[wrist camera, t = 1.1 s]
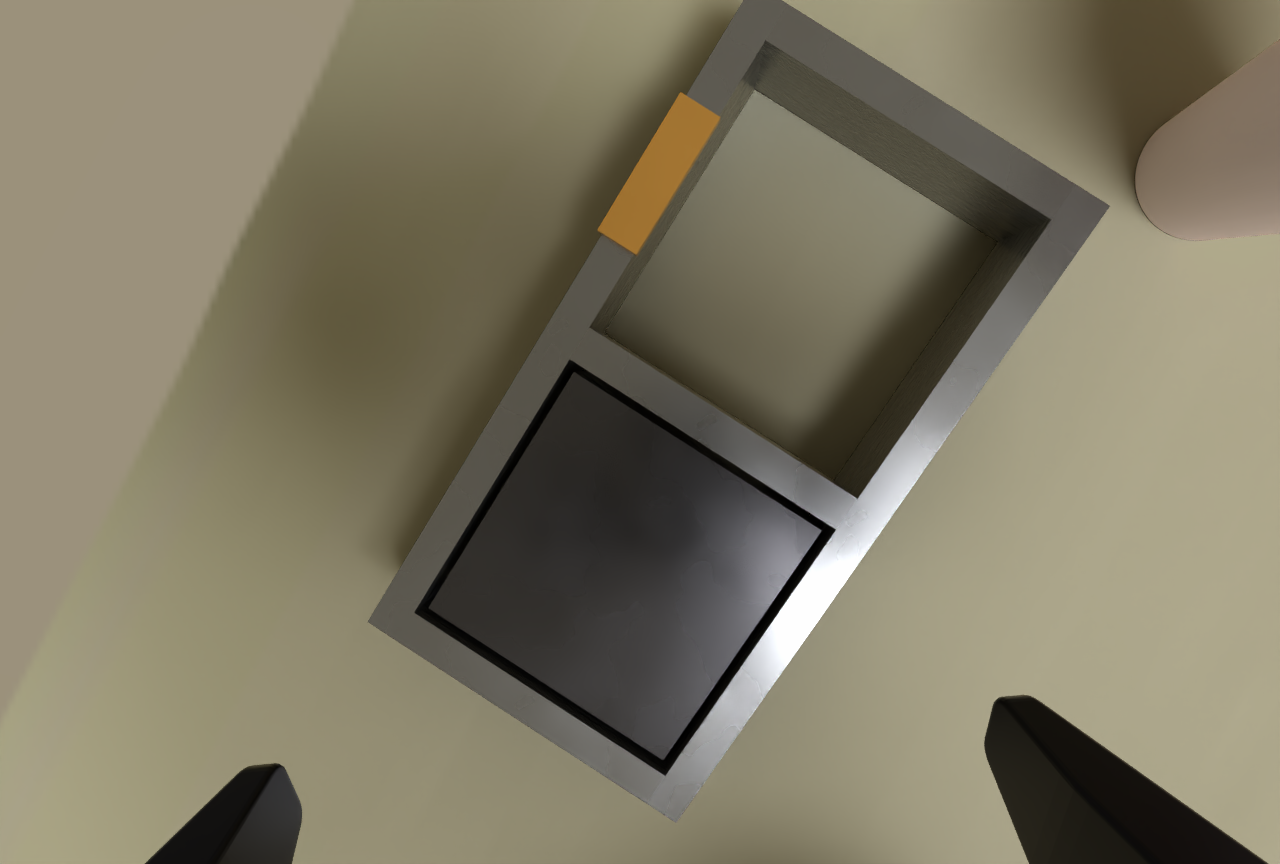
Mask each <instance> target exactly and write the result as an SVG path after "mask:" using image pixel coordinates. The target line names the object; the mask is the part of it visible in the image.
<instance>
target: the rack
mask: <svg viewBox="0 0 1280 864" xmlns="http://www.w3.org/2000/svg"><path fill="white" fill-rule="evenodd" d="M754 89H756V90H757V91H759V92H760V93H762V94H764V95H765V96H767V97H768V98H770V99H772V100H773V101H775V102H776V103H778V104H780V105H781V106H783V107H784V108H786V109H787V110H789V111H791V112H792V113H794V114H795V115H797V116H799V117H800V118H802V119H803V120H805V121H807V122H808V123H810V124H811V125H813V126H814V127H816V128H818V129H819V130H821V131H822V132H824V133H826V134H827V135H829V136H830V137H832V138H834V139H835V140H837V141H838V142H840V143H842V144H843V145H845V146H846V147H848V148H849V149H851V150H853V151H854V152H856V153H857V154H859V155H861V156H862V157H864V158H865V159H867V160H869V161H870V162H872V163H873V164H875V165H876V166H878V167H880V168H881V169H883V170H884V171H886V172H888V173H889V174H891V175H892V176H894V177H896V178H897V179H899V180H900V181H902V182H903V183H905V184H907V185H908V186H910V187H911V188H913V189H915V190H916V191H918V192H919V193H921V194H923V195H924V196H926V197H927V198H929V199H931V200H932V201H934V202H935V203H937V204H938V205H940V206H942V207H943V208H945V209H946V210H948V211H950V212H951V213H953V214H954V215H956V216H958V217H959V218H961V219H962V220H964V221H965V222H967V223H969V224H970V225H972V226H973V227H975V228H977V229H978V230H980V231H981V232H983V233H985V234H986V235H988V236H989V237H991V238H993V239H994V240H996V241H997V242H998V243H997V244H996V246H995V247H994V249H993V250H992V251H991V253H990V254H989V256H988V257H987V259H986V260H985V262H984V263H983V265H982V266H981V267H980V269H979V270H978V272H977V273H976V275H975V276H974V278H973V279H972V281H971V282H970V284H969V285H968V286H967V288H966V289H965V291H964V292H963V294H962V295H961V297H960V298H959V300H958V301H957V302H956V304H955V305H954V307H953V308H952V310H951V311H950V313H949V314H948V316H947V317H946V319H945V320H944V321H943V323H942V324H941V326H940V327H939V329H938V330H937V332H936V333H935V335H934V336H933V337H932V339H931V340H930V342H929V343H928V345H927V346H926V348H925V349H924V351H923V352H922V353H921V355H920V356H919V358H918V359H917V361H916V362H915V364H914V365H913V367H912V368H911V370H910V371H909V372H908V374H907V375H906V377H905V378H904V380H903V381H902V383H901V384H900V386H899V387H898V388H897V390H896V391H895V393H894V394H893V396H892V397H891V399H890V400H889V402H888V403H887V405H886V406H885V407H884V409H883V410H882V412H881V413H880V415H879V416H878V418H877V419H876V421H875V422H874V423H873V425H872V426H871V428H870V429H869V431H868V432H867V434H866V435H865V437H864V438H863V440H862V441H861V442H860V444H859V445H858V447H857V448H856V450H855V451H854V453H853V454H852V456H851V457H850V458H849V460H848V461H847V463H846V464H845V466H844V467H843V469H842V470H841V472H840V473H839V474H838V476H837V477H836V479H835V480H833V479H831V478H829V477H828V476H826V475H825V474H823V473H822V472H820V471H819V470H817V469H815V468H814V467H812V466H811V465H809V464H808V463H806V462H804V461H803V460H801V459H800V458H798V457H797V456H795V455H793V454H792V453H790V452H789V451H787V450H786V449H784V448H783V447H781V446H779V445H778V444H776V443H775V442H773V441H772V440H770V439H768V438H767V437H765V436H764V435H762V434H761V433H759V432H757V431H756V430H754V429H753V428H751V427H750V426H748V425H747V424H745V423H743V422H742V421H740V420H739V419H737V418H736V417H734V416H732V415H731V414H729V413H728V412H726V411H725V410H723V409H721V408H720V407H718V406H717V405H715V404H714V403H712V402H710V401H709V400H707V399H706V398H704V397H703V396H701V395H700V394H698V393H696V392H695V391H693V390H692V389H690V388H689V387H687V386H685V385H684V384H682V383H681V382H679V381H678V380H676V379H674V378H673V377H671V376H670V375H668V374H667V373H665V372H664V371H662V370H660V369H659V368H657V367H656V366H654V365H653V364H651V363H649V362H648V361H646V360H645V359H643V358H642V357H640V356H638V355H637V354H635V353H634V352H632V351H631V350H629V349H628V348H626V347H624V346H623V345H621V344H620V343H618V342H617V341H615V340H613V339H612V338H610V337H609V336H607V335H606V334H604V332H605V331H606V329H607V327H608V326H609V324H610V322H611V321H612V319H613V318H614V316H615V314H616V313H617V311H618V309H619V308H620V306H621V305H622V303H623V301H624V300H625V298H626V297H627V295H628V293H629V292H630V290H631V288H632V287H633V285H634V284H635V282H636V280H637V279H638V277H639V275H640V274H641V272H642V271H643V269H644V267H645V266H646V264H647V263H648V261H649V259H650V258H651V256H652V254H653V253H654V251H655V250H656V248H657V246H658V245H659V243H660V241H661V240H662V238H663V237H664V235H665V233H666V232H667V230H668V229H669V227H670V225H671V224H672V222H673V220H674V219H675V217H676V216H677V214H678V212H679V211H680V209H681V207H682V206H683V204H684V203H685V201H686V199H687V198H688V196H689V195H690V193H691V191H692V190H693V188H694V186H695V185H696V183H697V182H698V180H699V178H700V177H701V175H702V174H703V172H704V170H705V169H706V167H707V165H708V164H709V162H710V161H711V159H712V157H713V156H714V154H715V152H716V151H717V149H718V148H719V146H720V144H721V143H722V141H723V140H724V138H725V136H726V135H727V133H728V131H729V130H730V128H731V127H732V125H733V123H734V122H735V120H736V118H737V117H738V115H739V114H740V112H741V110H742V109H743V107H744V106H745V104H746V102H747V101H748V99H749V97H750V96H751V94H752V93H753V91H754ZM1109 207H1110V206H1109V205H1108V204H1106V203H1105V202H1103V201H1101V200H1100V199H1098V198H1097V197H1095V196H1093V195H1092V194H1090V193H1089V192H1087V191H1085V190H1084V189H1082V188H1081V187H1079V186H1077V185H1076V184H1074V183H1073V182H1071V181H1069V180H1068V179H1066V178H1065V177H1063V176H1061V175H1060V174H1058V173H1057V172H1055V171H1053V170H1052V169H1050V168H1049V167H1047V166H1045V165H1044V164H1042V163H1041V162H1039V161H1037V160H1036V159H1034V158H1033V157H1031V156H1029V155H1028V154H1026V153H1025V152H1023V151H1021V150H1020V149H1018V148H1017V147H1015V146H1013V145H1012V144H1010V143H1009V142H1007V141H1005V140H1004V139H1002V138H1001V137H999V136H998V135H996V134H994V133H993V132H991V131H990V130H988V129H986V128H985V127H983V126H982V125H980V124H978V123H977V122H975V121H974V120H972V119H970V118H969V117H967V116H966V115H964V114H962V113H961V112H959V111H958V110H956V109H954V108H953V107H951V106H950V105H948V104H946V103H945V102H943V101H942V100H940V99H938V98H937V97H935V96H934V95H932V94H930V93H929V92H927V91H926V90H924V89H922V88H921V87H919V86H918V85H916V84H914V83H913V82H911V81H910V80H908V79H906V78H905V77H903V76H902V75H900V74H898V73H897V72H895V71H894V70H892V69H891V68H889V67H887V66H886V65H884V64H883V63H881V62H879V61H878V60H876V59H875V58H873V57H871V56H870V55H868V54H867V53H865V52H863V51H862V50H860V49H859V48H857V47H855V46H854V45H852V44H851V43H849V42H847V41H846V40H844V39H843V38H841V37H839V36H838V35H836V34H835V33H833V32H831V31H830V30H828V29H827V28H825V27H823V26H822V25H820V24H819V23H817V22H815V21H814V20H812V19H811V18H809V17H807V16H806V15H804V14H803V13H801V12H799V11H798V10H796V9H795V8H793V7H791V6H790V5H788V4H787V3H785V2H784V1H782V0H743V2H742V4H741V5H740V7H739V9H738V10H737V12H736V14H735V15H734V17H733V19H732V20H731V22H730V24H729V25H728V27H727V29H726V30H725V32H724V33H723V35H722V37H721V38H720V40H719V42H718V43H717V45H716V47H715V48H714V50H713V52H712V53H711V55H710V57H709V58H708V60H707V62H706V63H705V65H704V67H703V68H702V70H701V72H700V73H699V75H698V76H697V78H696V80H695V81H694V83H693V85H692V86H691V88H690V90H689V91H688V93H687V95H685V94H683V93H681V92H680V94H679V95H678V97H677V99H676V100H675V102H674V104H673V105H672V107H671V109H670V110H669V112H668V114H667V115H666V117H665V118H664V120H663V122H662V123H661V125H660V127H659V128H658V130H657V132H656V133H655V135H654V137H653V138H652V140H651V142H650V143H649V145H648V147H647V148H646V150H645V152H644V153H643V155H642V157H641V158H640V160H639V162H638V163H637V165H636V167H635V168H634V170H633V172H632V173H631V175H630V176H629V178H628V180H627V181H626V183H625V185H624V186H623V188H622V190H621V191H620V193H619V195H618V196H617V198H616V200H615V201H614V203H613V205H612V206H611V208H610V210H609V211H608V213H607V215H606V216H605V218H604V220H603V221H602V223H601V225H600V226H599V228H598V232H599V233H601V234H602V235H601V237H600V238H599V240H598V242H597V243H596V245H595V247H594V248H593V250H592V252H591V253H590V255H589V257H588V258H587V260H586V262H585V263H584V265H583V267H582V268H581V270H580V272H579V273H578V275H577V276H576V278H575V280H574V281H573V283H572V285H571V286H570V288H569V290H568V291H567V293H566V295H565V296H564V298H563V300H562V301H561V303H560V305H559V306H558V308H557V310H556V311H555V313H554V314H553V316H552V318H551V319H550V321H549V323H548V324H547V326H546V328H545V329H544V331H543V333H542V334H541V336H540V338H539V339H538V341H537V343H536V344H535V346H534V348H533V349H532V351H531V353H530V354H529V356H528V357H527V359H526V361H525V362H524V364H523V366H522V367H521V369H520V371H519V372H518V374H517V376H516V377H515V379H514V381H513V382H512V384H511V386H510V387H509V389H508V391H507V392H506V394H505V395H504V397H503V399H502V400H501V402H500V404H499V405H498V407H497V409H496V410H495V412H494V414H493V415H492V417H491V419H490V420H489V422H488V424H487V425H486V427H485V429H484V430H483V432H482V433H481V435H480V437H479V438H478V440H477V442H476V443H475V445H474V447H473V448H472V450H471V452H470V453H469V455H468V457H467V458H466V460H465V462H464V463H463V465H462V467H461V468H460V470H459V472H458V473H457V475H456V476H455V478H454V480H453V481H452V483H451V485H450V486H449V488H448V490H447V491H446V493H445V495H444V496H443V498H442V500H441V501H440V503H439V505H438V506H437V508H436V510H435V511H434V513H433V514H432V516H431V518H430V519H429V521H428V523H427V524H426V526H425V528H424V529H423V531H422V533H421V534H420V536H419V538H418V539H417V541H416V543H415V544H414V546H413V548H412V549H411V551H410V553H409V554H408V556H407V557H406V559H405V561H404V562H403V564H402V566H401V567H400V569H399V571H398V572H397V574H396V576H395V577H394V579H393V581H392V582H391V584H390V586H389V587H388V589H387V591H386V592H385V594H384V595H383V597H382V599H381V600H380V602H379V604H378V605H377V607H376V609H375V610H374V612H373V614H372V615H371V617H370V619H369V620H368V622H369V623H370V624H372V625H373V626H375V627H376V628H378V629H379V630H381V631H382V632H384V633H385V634H387V635H388V636H390V637H392V638H393V639H395V640H396V641H398V642H399V643H401V644H402V645H404V646H405V647H407V648H408V649H410V650H412V651H413V652H415V653H416V654H418V655H419V656H421V657H422V658H424V659H425V660H427V661H428V662H430V663H431V664H433V665H435V666H436V667H438V668H439V669H441V670H442V671H444V672H445V673H447V674H448V675H450V676H451V677H453V678H455V679H456V680H458V681H459V682H461V683H462V684H464V685H465V686H467V687H468V688H470V689H471V690H473V691H474V692H476V693H478V694H479V695H481V696H482V697H484V698H485V699H487V700H488V701H490V702H491V703H493V704H494V705H496V706H498V707H499V708H501V709H502V710H504V711H505V712H507V713H508V714H510V715H511V716H513V717H514V718H516V719H517V720H519V721H521V722H522V723H524V724H525V725H527V726H528V727H530V728H531V729H533V730H534V731H536V732H537V733H539V734H541V735H542V736H544V737H545V738H547V739H548V740H550V741H551V742H553V743H554V744H556V745H557V746H559V747H560V748H562V749H564V750H565V751H567V752H568V753H570V754H571V755H573V756H574V757H576V758H577V759H579V760H580V761H582V762H584V763H585V764H587V765H588V766H590V767H591V768H593V769H594V770H596V771H597V772H599V773H600V774H602V775H603V776H605V777H607V778H608V779H610V780H611V781H613V782H614V783H616V784H617V785H619V786H620V787H622V788H623V789H625V790H627V791H628V792H630V793H631V794H633V795H634V796H636V797H637V798H639V799H640V800H642V801H643V802H645V803H646V804H648V805H650V806H651V807H653V808H654V809H656V810H657V811H659V812H660V813H662V814H663V815H665V816H666V817H668V818H670V819H671V820H673V821H674V822H677V821H678V819H679V818H680V817H681V815H682V814H683V812H684V811H685V809H686V808H687V807H688V805H689V804H690V802H691V801H692V799H693V798H694V797H695V795H696V794H697V792H698V791H699V790H700V788H701V787H702V785H703V784H704V782H705V781H706V780H707V778H708V777H709V775H710V774H711V772H712V771H713V770H714V768H715V767H716V765H717V764H718V762H719V761H720V760H721V758H722V757H723V755H724V754H725V753H726V751H727V750H728V748H729V747H730V745H731V744H732V743H733V741H734V740H735V738H736V737H737V735H738V734H739V733H740V731H741V730H742V728H743V727H744V726H745V724H746V723H747V721H748V720H749V718H750V717H751V716H752V714H753V713H754V711H755V710H756V708H757V707H758V706H759V704H760V703H761V701H762V700H763V699H764V697H765V696H766V694H767V693H768V691H769V690H770V689H771V687H772V686H773V684H774V683H775V681H776V680H777V679H778V677H779V676H780V674H781V673H782V672H783V670H784V669H785V667H786V666H787V664H788V663H789V662H790V660H791V659H792V657H793V656H794V654H795V653H796V652H797V650H798V649H799V647H800V646H801V645H802V643H803V642H804V640H805V639H806V637H807V636H808V635H809V633H810V632H811V630H812V629H813V627H814V626H815V625H816V623H817V622H818V620H819V619H820V618H821V616H822V615H823V613H824V612H825V610H826V609H827V608H828V606H829V605H830V603H831V602H832V600H833V599H834V598H835V596H836V595H837V593H838V592H839V590H840V589H841V588H842V586H843V585H844V583H845V582H846V581H847V579H848V578H849V576H850V575H851V573H852V572H853V571H854V569H855V568H856V566H857V565H858V563H859V562H860V561H861V559H862V558H863V556H864V555H865V554H866V552H867V551H868V549H869V548H870V546H871V545H872V544H873V542H874V541H875V539H876V538H877V536H878V535H879V534H880V532H881V531H882V529H883V528H884V527H885V525H886V524H887V522H888V521H889V519H890V518H891V517H892V515H893V514H894V512H895V511H896V509H897V508H898V507H899V505H900V504H901V502H902V501H903V500H904V498H905V497H906V495H907V494H908V492H909V491H910V490H911V488H912V487H913V485H914V484H915V482H916V481H917V480H918V478H919V477H920V475H921V474H922V473H923V471H924V470H925V468H926V467H927V465H928V464H929V463H930V461H931V460H932V458H933V457H934V455H935V454H936V453H937V451H938V450H939V448H940V447H941V446H942V444H943V443H944V441H945V440H946V438H947V437H948V436H949V434H950V433H951V431H952V430H953V428H954V427H955V426H956V424H957V423H958V421H959V420H960V419H961V417H962V416H963V414H964V413H965V411H966V410H967V409H968V407H969V406H970V404H971V403H972V401H973V400H974V399H975V397H976V396H977V394H978V393H979V391H980V390H981V389H982V387H983V386H984V384H985V383H986V382H987V380H988V379H989V377H990V376H991V374H992V373H993V372H994V370H995V369H996V367H997V366H998V364H999V363H1000V362H1001V360H1002V359H1003V357H1004V356H1005V355H1006V353H1007V352H1008V350H1009V349H1010V347H1011V346H1012V345H1013V343H1014V342H1015V340H1016V339H1017V337H1018V336H1019V335H1020V333H1021V332H1022V330H1023V329H1024V328H1025V326H1026V325H1027V323H1028V322H1029V320H1030V319H1031V318H1032V316H1033V315H1034V313H1035V312H1036V310H1037V309H1038V308H1039V306H1040V305H1041V303H1042V302H1043V301H1044V299H1045V298H1046V296H1047V295H1048V293H1049V292H1050V291H1051V289H1052V288H1053V286H1054V285H1055V283H1056V282H1057V281H1058V279H1059V278H1060V276H1061V275H1062V274H1063V272H1064V271H1065V269H1066V268H1067V266H1068V265H1069V264H1070V262H1071V261H1072V259H1073V258H1074V256H1075V255H1076V254H1077V252H1078V251H1079V249H1080V248H1081V247H1082V245H1083V244H1084V242H1085V241H1086V239H1087V238H1088V237H1089V235H1090V234H1091V232H1092V231H1093V229H1094V228H1095V227H1096V225H1097V224H1098V222H1099V221H1100V219H1101V218H1102V217H1103V215H1104V214H1105V212H1106V211H1107V210H1108V208H1109ZM582 368H584V369H586V370H587V371H589V372H580V371H581V369H582ZM806 511H808V512H809V513H811V515H809V514H808V513H807V512H806Z"/></svg>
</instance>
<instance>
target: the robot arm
mask: <svg viewBox="0 0 1280 864" xmlns="http://www.w3.org/2000/svg"><path fill="white" fill-rule="evenodd" d="M984 747H985V753H986V757H987V760H988V763H989V765H990V768H991V770H992V773H993V775H994V778H995V780H996V783H997V785H998V788H999V790H1000V793H1001V795H1002V798H1003V800H1004V802H1005V805H1006V807H1007V810H1008V812H1009V815H1010V817H1011V820H1012V822H1013V825H1014V827H1015V830H1016V832H1017V835H1018V837H1019V840H1020V842H1021V845H1022V847H1023V850H1024V852H1025V855H1026V857H1027V860H1028V862H1029V864H1268V863H1267V862H1265V861H1264V860H1263V859H1261V858H1260V857H1258V856H1257V855H1255V854H1254V853H1253V852H1251V851H1250V850H1248V849H1247V848H1246V847H1244V846H1243V845H1241V844H1240V843H1239V842H1237V841H1236V840H1234V839H1233V838H1232V837H1230V836H1229V835H1227V834H1226V833H1225V832H1223V831H1222V830H1220V829H1219V828H1217V827H1216V826H1215V825H1213V824H1212V823H1210V822H1209V821H1208V820H1206V819H1205V818H1203V817H1202V816H1201V815H1199V814H1198V813H1196V812H1195V811H1194V810H1192V809H1191V808H1189V807H1188V806H1187V805H1185V804H1184V803H1182V802H1181V801H1179V800H1178V799H1177V798H1175V797H1174V796H1172V795H1171V794H1170V793H1168V792H1167V791H1165V790H1164V789H1163V788H1161V787H1160V786H1158V785H1157V784H1156V783H1154V782H1153V781H1151V780H1150V779H1148V778H1147V777H1146V776H1144V775H1143V774H1141V773H1140V772H1139V771H1137V770H1136V769H1134V768H1133V767H1132V766H1130V765H1129V764H1127V763H1126V762H1125V761H1123V760H1122V759H1120V758H1119V757H1118V756H1116V755H1115V754H1113V753H1112V752H1110V751H1109V750H1108V749H1106V748H1105V747H1103V746H1102V745H1101V744H1099V743H1098V742H1096V741H1095V740H1094V739H1092V738H1091V737H1089V736H1088V735H1087V734H1085V733H1084V732H1082V731H1081V730H1080V729H1078V728H1077V727H1075V726H1074V725H1072V724H1071V723H1070V722H1068V721H1067V720H1065V719H1064V718H1063V717H1061V716H1060V715H1058V714H1057V713H1056V712H1054V711H1053V710H1051V709H1050V708H1049V707H1047V706H1046V705H1044V704H1043V703H1042V702H1040V701H1039V700H1037V699H1035V698H1033V697H1031V696H1028V695H1017V696H1006V697H1000V698H998V699H997V700H996V701H995V702H994V704H993V708H992V712H991V716H990V720H989V724H988V728H987V732H986V736H985V741H984ZM301 821H302V808H301V803H300V800H299V798H298V796H297V794H296V792H295V789H294V787H293V785H292V783H291V781H290V778H289V776H288V774H287V772H286V770H285V768H284V767H283V766H282V765H280V764H277V763H274V764H263V765H253V766H249V767H246V768H245V769H243V770H242V771H240V772H239V773H238V774H237V775H236V776H235V777H234V778H233V779H232V780H231V781H230V782H229V783H228V784H226V785H225V786H224V787H223V788H222V789H221V790H220V791H219V792H218V793H217V794H216V795H215V796H214V797H213V798H212V799H211V800H210V801H209V802H208V803H207V804H206V805H205V806H204V807H203V808H202V809H201V810H200V811H199V812H198V813H197V814H196V815H195V816H193V817H192V818H191V819H190V820H189V821H188V822H187V823H186V824H185V825H184V826H183V827H182V828H181V829H180V830H179V831H178V832H177V833H176V834H175V835H174V836H173V837H172V838H171V839H170V840H169V841H168V842H167V843H166V844H165V845H164V846H163V847H162V848H160V849H159V850H158V851H157V852H156V853H155V854H154V855H153V856H152V857H151V858H150V859H149V860H148V861H147V862H146V863H145V864H292V861H293V856H294V852H295V848H296V844H297V839H298V835H299V831H300V827H301Z"/></svg>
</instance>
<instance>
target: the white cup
mask: <svg viewBox="0 0 1280 864" xmlns="http://www.w3.org/2000/svg"><path fill="white" fill-rule="evenodd" d="M1135 187H1136V193H1137V198H1138V201H1139V203H1140V206H1141V208H1142V210H1143V211H1144V213H1145V215H1146V216H1147V217H1148V219H1149V220H1150V221H1151V222H1152V223H1153V224H1154V225H1155V226H1156V227H1158V228H1159V229H1160V230H1162V231H1163V232H1165V233H1167V234H1169V235H1171V236H1174V237H1177V238H1180V239H1185V240H1192V241H1202V240H1213V239H1225V238H1236V237H1247V236H1258V235H1269V234H1280V39H1279V40H1278V41H1276V42H1275V43H1274V44H1272V45H1271V46H1270V47H1268V48H1267V49H1266V50H1264V51H1263V52H1261V53H1260V54H1259V55H1257V56H1256V57H1255V58H1253V59H1252V60H1251V61H1249V62H1248V63H1246V64H1245V65H1244V66H1242V67H1241V68H1240V69H1238V70H1237V71H1236V72H1234V73H1233V74H1232V75H1230V76H1229V77H1227V78H1226V79H1225V80H1223V81H1222V82H1221V83H1219V84H1218V85H1217V86H1215V87H1214V88H1212V89H1211V90H1210V91H1208V92H1207V93H1206V94H1204V95H1203V96H1202V97H1200V98H1199V99H1198V100H1196V101H1195V102H1193V103H1192V104H1191V105H1189V106H1188V107H1187V108H1185V109H1184V110H1183V111H1181V112H1180V113H1178V114H1177V115H1176V116H1174V117H1173V118H1172V119H1170V120H1169V121H1168V122H1166V123H1165V124H1164V125H1162V126H1161V127H1160V128H1159V129H1158V130H1157V131H1156V132H1155V133H1154V134H1153V135H1152V136H1151V138H1150V139H1149V140H1148V142H1147V143H1146V145H1145V146H1144V148H1143V150H1142V152H1141V155H1140V157H1139V160H1138V163H1137V168H1136V174H1135Z"/></svg>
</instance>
